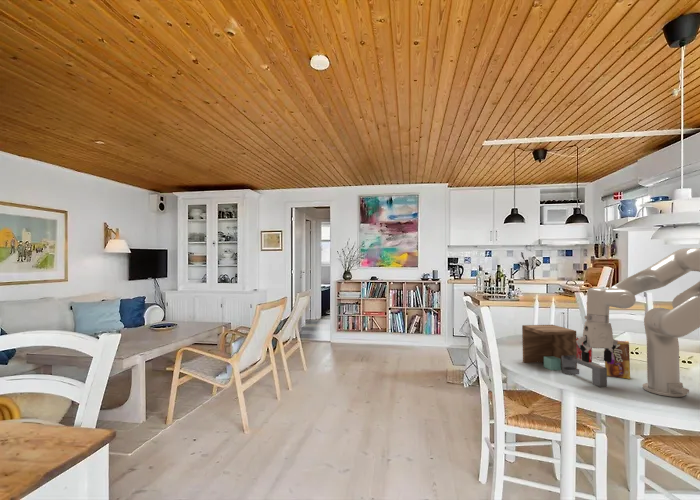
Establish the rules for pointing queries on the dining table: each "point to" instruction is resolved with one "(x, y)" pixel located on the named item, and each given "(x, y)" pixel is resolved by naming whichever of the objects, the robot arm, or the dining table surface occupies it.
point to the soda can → (579, 352)
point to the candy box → (619, 361)
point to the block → (552, 363)
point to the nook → (547, 342)
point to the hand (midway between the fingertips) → (596, 361)
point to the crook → (597, 371)
